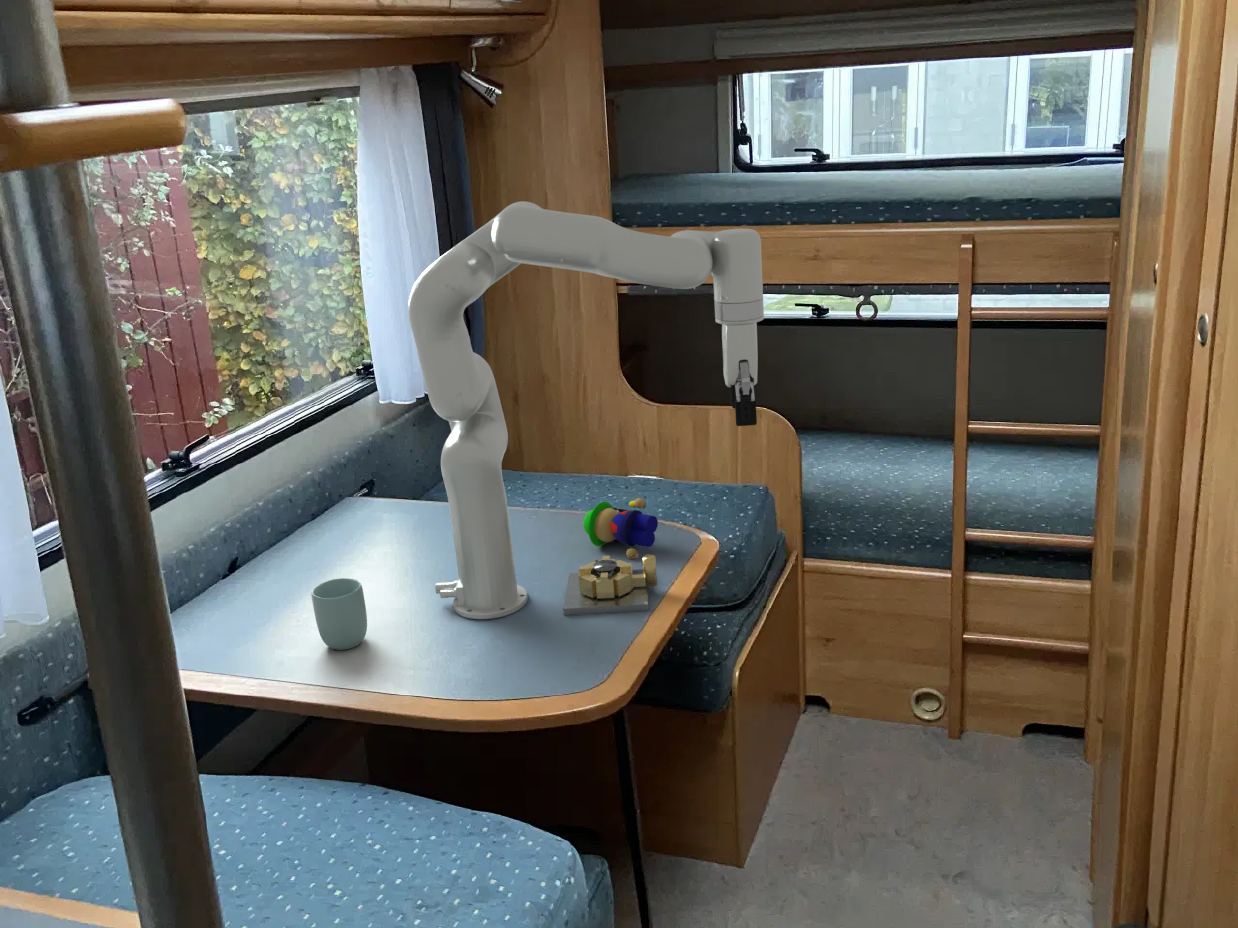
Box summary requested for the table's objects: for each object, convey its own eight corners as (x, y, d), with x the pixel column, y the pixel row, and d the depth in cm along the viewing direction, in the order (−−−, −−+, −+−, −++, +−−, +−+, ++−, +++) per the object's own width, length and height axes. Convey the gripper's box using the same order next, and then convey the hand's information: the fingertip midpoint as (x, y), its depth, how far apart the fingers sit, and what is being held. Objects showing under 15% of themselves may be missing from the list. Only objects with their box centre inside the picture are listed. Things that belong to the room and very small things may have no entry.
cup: (346, 659, 177) (336, 602, 173) (311, 650, 181) (300, 593, 177) (380, 638, 183) (371, 582, 180) (345, 629, 187) (336, 574, 184)
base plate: (563, 615, 186) (560, 584, 184) (570, 578, 199) (567, 549, 198) (648, 610, 185) (645, 579, 183) (648, 573, 199) (646, 544, 197)
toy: (673, 508, 210) (606, 496, 218) (652, 493, 203) (584, 482, 211) (656, 568, 208) (589, 554, 216) (635, 556, 201) (566, 542, 208)
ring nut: (578, 599, 187) (576, 572, 186) (582, 576, 196) (579, 550, 194) (657, 595, 187) (655, 567, 185) (657, 572, 195) (655, 546, 193)
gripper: (712, 301, 182) (717, 403, 188) (717, 324, 166) (723, 434, 172) (758, 298, 182) (762, 400, 187) (768, 320, 166) (772, 430, 171)
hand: (744, 416), depth 179 cm, fingers open, 9 cm apart
